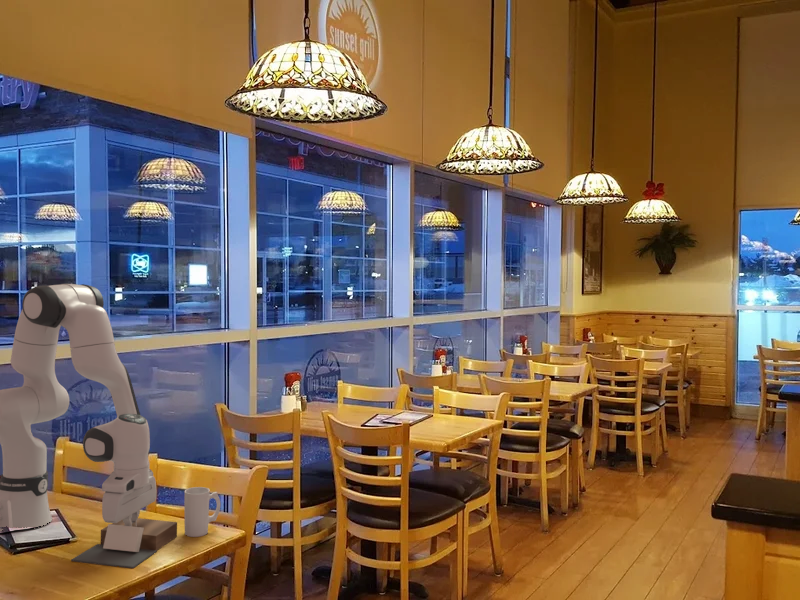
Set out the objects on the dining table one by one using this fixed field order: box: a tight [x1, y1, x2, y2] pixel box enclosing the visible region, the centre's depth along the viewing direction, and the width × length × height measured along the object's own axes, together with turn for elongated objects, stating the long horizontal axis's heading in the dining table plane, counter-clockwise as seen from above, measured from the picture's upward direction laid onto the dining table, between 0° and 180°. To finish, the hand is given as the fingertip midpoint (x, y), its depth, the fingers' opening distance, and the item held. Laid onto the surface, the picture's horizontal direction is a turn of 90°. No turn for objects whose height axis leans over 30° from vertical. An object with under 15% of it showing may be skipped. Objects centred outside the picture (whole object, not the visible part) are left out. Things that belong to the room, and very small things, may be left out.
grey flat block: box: [103, 523, 144, 552], centre depth 191 cm, size 9×6×2 cm
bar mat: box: [70, 543, 158, 569], centre depth 187 cm, size 17×11×1 cm, turn 79°
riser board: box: [100, 517, 178, 551], centre depth 199 cm, size 16×11×4 cm
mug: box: [183, 486, 221, 538], centre depth 206 cm, size 10×7×12 cm, turn 119°
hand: (130, 528), depth 194 cm, fingers closed
